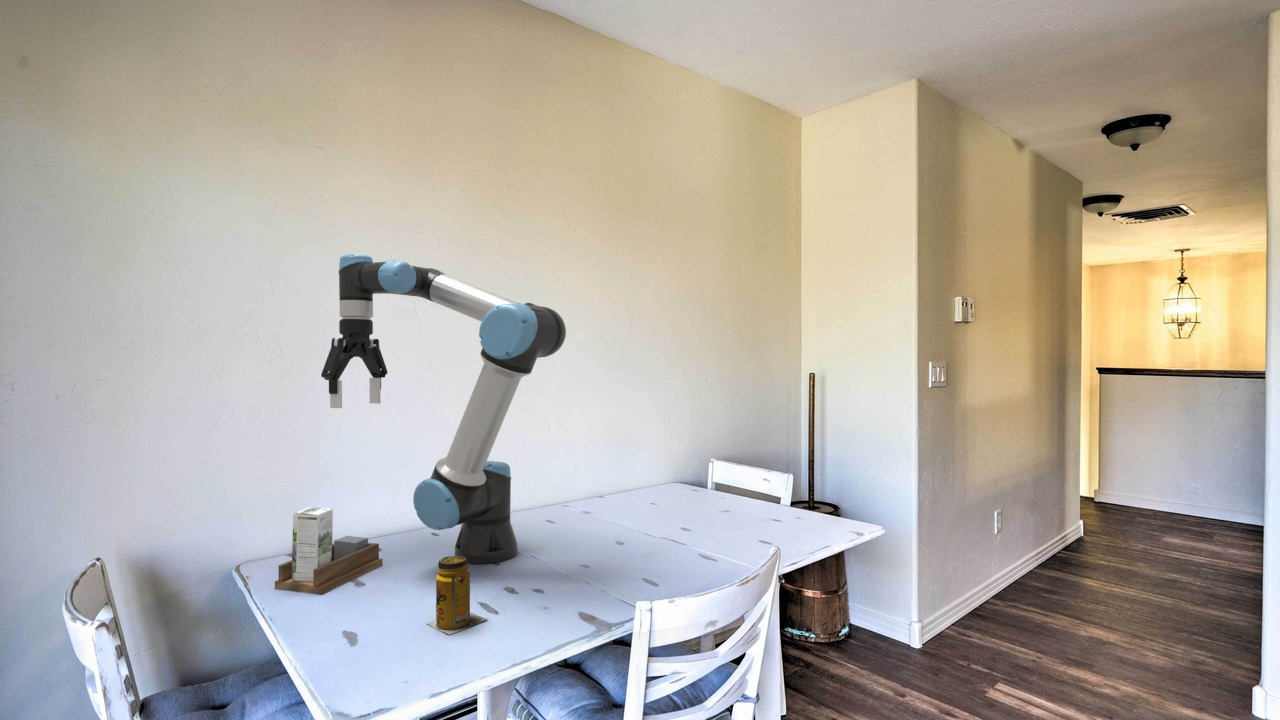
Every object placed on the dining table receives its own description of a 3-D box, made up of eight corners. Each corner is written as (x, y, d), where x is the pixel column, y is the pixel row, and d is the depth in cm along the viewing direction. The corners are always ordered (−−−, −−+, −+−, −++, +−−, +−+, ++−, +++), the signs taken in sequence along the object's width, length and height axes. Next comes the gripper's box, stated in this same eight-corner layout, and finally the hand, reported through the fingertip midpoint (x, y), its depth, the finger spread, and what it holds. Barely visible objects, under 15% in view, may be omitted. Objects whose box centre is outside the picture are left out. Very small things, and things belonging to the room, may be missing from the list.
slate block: (368, 559, 151) (368, 538, 151) (356, 564, 147) (356, 542, 147) (346, 556, 153) (346, 535, 153) (334, 562, 149) (334, 540, 149)
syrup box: (307, 572, 142) (307, 506, 142) (333, 573, 141) (333, 507, 141) (291, 581, 136) (291, 513, 136) (318, 582, 136) (318, 513, 135)
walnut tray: (382, 565, 151) (382, 544, 151) (321, 594, 133) (321, 570, 133) (339, 560, 155) (339, 539, 155) (274, 588, 137) (274, 564, 136)
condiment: (426, 624, 120) (426, 560, 119) (465, 610, 126) (465, 549, 126) (449, 636, 115) (449, 569, 115) (488, 620, 121) (488, 557, 121)
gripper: (377, 320, 171) (377, 401, 171) (303, 316, 147) (304, 409, 147) (401, 320, 169) (401, 402, 169) (331, 316, 145) (331, 410, 145)
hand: (356, 405), depth 158 cm, fingers open, 13 cm apart
